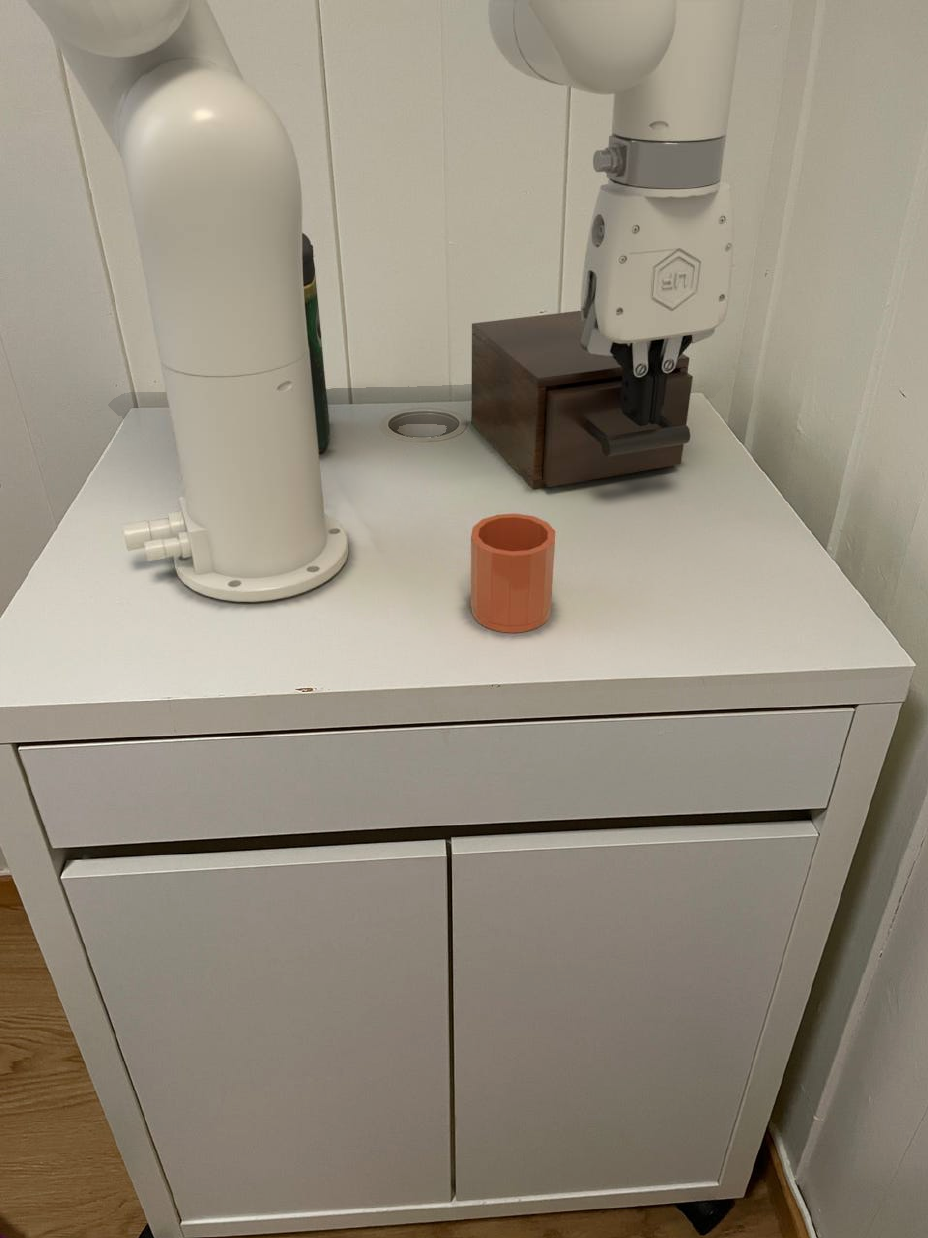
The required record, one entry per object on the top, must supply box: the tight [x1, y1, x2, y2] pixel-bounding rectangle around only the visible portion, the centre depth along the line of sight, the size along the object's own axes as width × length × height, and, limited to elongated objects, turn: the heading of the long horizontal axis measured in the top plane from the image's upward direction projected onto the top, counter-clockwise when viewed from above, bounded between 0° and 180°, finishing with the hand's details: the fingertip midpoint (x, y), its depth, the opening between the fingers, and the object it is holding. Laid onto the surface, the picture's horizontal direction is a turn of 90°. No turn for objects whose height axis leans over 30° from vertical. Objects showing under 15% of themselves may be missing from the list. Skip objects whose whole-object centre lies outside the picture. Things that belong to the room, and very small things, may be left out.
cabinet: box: [470, 310, 690, 490], centre depth 86 cm, size 15×14×10 cm
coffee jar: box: [302, 232, 331, 453], centre depth 84 cm, size 10×8×19 cm
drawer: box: [542, 372, 694, 488], centre depth 83 cm, size 18×12×8 cm
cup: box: [470, 513, 556, 634], centre depth 65 cm, size 5×6×6 cm
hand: (640, 418), depth 76 cm, fingers closed
